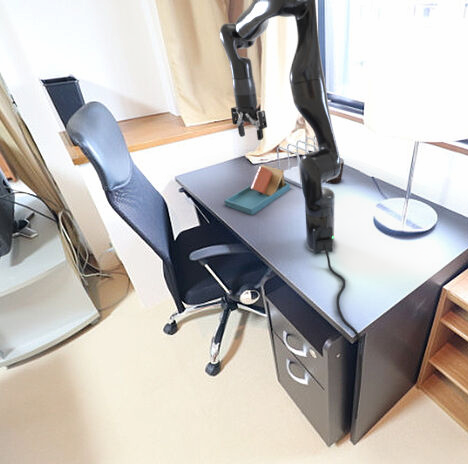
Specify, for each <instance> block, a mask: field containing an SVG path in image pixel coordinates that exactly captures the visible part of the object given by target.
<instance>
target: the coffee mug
mask: <svg viewBox="0 0 468 464" xmlns="http://www.w3.org/2000/svg"><path fill="white" fill-rule="evenodd" d="M340 162H341V170H340V173H339V175H338V176H337V177H336V178H333V179H331V180H328V181H327V183H329V184H332V185H338V184H340V183H341V182H342V178H343V171H344V164H345V159H344V158H343V157H340Z"/></svg>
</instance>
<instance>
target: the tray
mask: <svg viewBox="0 0 468 464" xmlns="http://www.w3.org/2000/svg"><path fill="white" fill-rule="evenodd" d="M284 184H285V186H284V187H282V188H281V189H280V188H277V191H276V192H275V193H273V194H272V195H270V196H269V195H266V194H264V195H263V194H260V193H257V192H255V191H252V190H251V189H250V187H251V185H252V183H251V184H250V185H248V186H246V187H245V188H243V189H242V190H240V191H238V192H236V193H234V194H233V195H231V196H230V197H227V198H226V199H224V205H225V207H228V208H231V209H234V210H236V211H238V212H239V211H240V212H242V213H244V214H248V215H251V216H253V215H255V214H256V213H258V212H259V211H260V210H262V209H263V208H264V207H266V206H269V204H271V203H272V202H273V201H275V200H277V199H278V198H280V197H281V196H282V195H284V194H285V193H287V192H288V191H290V190H291V183H290V182H289V183H288V182H285V181H284Z"/></svg>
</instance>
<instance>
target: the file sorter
mask: <svg viewBox="0 0 468 464" xmlns="http://www.w3.org/2000/svg"><path fill="white" fill-rule="evenodd" d="M308 140H311V141H313V144H311V143H308V142H307V141H308ZM299 142H300V143H301V144H304V148H303V147H301V146H299V145H298V144H299ZM316 142H317V139H316V136H315V135H314V136H313V137H306V138H305V140H304V141H303V140H300V139H299V140H297V141H296V144H293V143H288V144H287V145H286V148H285V147H283V146H278V147H277V148H276V156H277V165H278V169H280V170H281V164H280V163H281V162H280V155H279V149H281V150H283V151H285V152H287V164H288V168H287V169H285V170H283V171H284V181H287V183H288V182H289V183H290V184H292V185H295V186H297V187H299V188H302V181H301V172H300V161H301V158H300V155H299V150H301V151H303V152H305V154H307V153H310V152H309V150H308V146H310V147H312V148H313V152H314V151H317V150H319V149H318V146H316ZM290 146H292V147H294V148H296V152H295V151H293V150H290V149H289V147H290ZM290 153H291V154H293V155H295V156H296V159H297V160H296V161H297V165H295V166H292V167H291V164H290Z"/></svg>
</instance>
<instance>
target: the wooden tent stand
mask: <svg viewBox="0 0 468 464" xmlns="http://www.w3.org/2000/svg"><path fill="white" fill-rule="evenodd" d="M260 167H264V168H266V169H268V170H270V171H272V172H273V174H272V176H271V179H270V181H269V184H268V186H267V189H266V191H265V194H266V195H269V196H270V195H272V194H273V193H275V192H276V191H277V188H280V189H281V188H282V187H284V186H285V184H284V182H285V180H284V171H285V170H284V169H281V168H280V169H279V168H276V167H271V166H268V165H264V164H261V165H260ZM252 191H253V190H252Z"/></svg>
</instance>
